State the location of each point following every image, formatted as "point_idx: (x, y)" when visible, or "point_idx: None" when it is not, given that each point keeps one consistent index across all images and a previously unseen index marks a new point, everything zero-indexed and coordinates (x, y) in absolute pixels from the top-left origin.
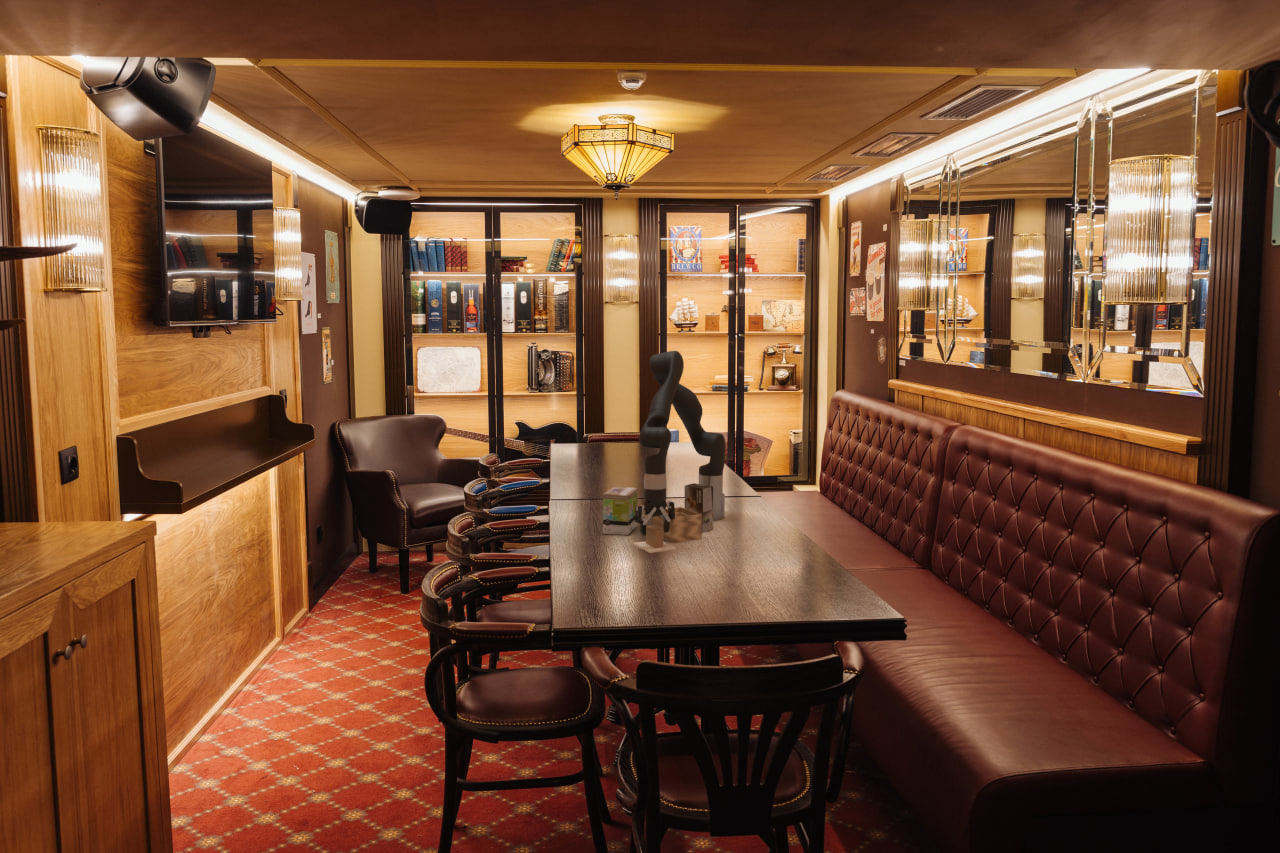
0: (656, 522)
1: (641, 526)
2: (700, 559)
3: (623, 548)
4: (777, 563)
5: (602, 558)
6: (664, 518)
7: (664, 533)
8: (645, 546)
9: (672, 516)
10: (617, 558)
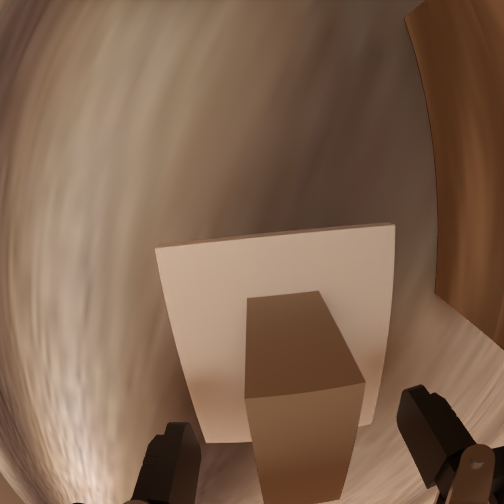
0: (484, 43)
1: (147, 494)
2: (356, 500)
3: (80, 311)
4: None
5: (14, 399)
6: (459, 481)
7: (464, 194)
8: (214, 368)
9: (493, 497)
10: (61, 428)
